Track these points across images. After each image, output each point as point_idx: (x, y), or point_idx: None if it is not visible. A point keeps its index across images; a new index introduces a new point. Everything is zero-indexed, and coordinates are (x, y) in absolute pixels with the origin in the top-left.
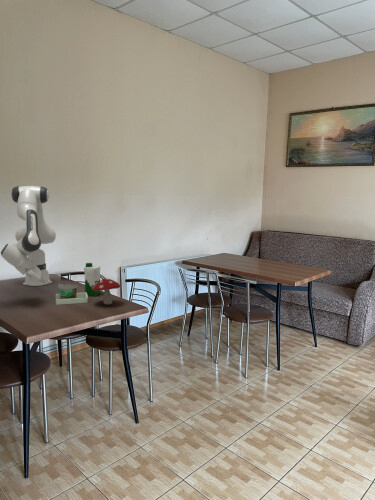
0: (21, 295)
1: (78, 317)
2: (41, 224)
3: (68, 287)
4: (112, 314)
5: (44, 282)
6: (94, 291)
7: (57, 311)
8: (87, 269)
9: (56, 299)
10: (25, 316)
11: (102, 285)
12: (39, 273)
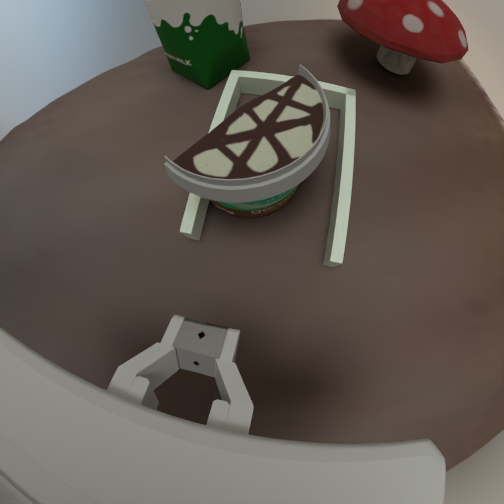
0: None
1: None
2: None
3: (329, 131)
4: (492, 116)
5: (235, 350)
6: (246, 43)
7: (449, 282)
8: None
9: (333, 256)
10: (443, 424)
11: (461, 32)
12: (140, 447)
